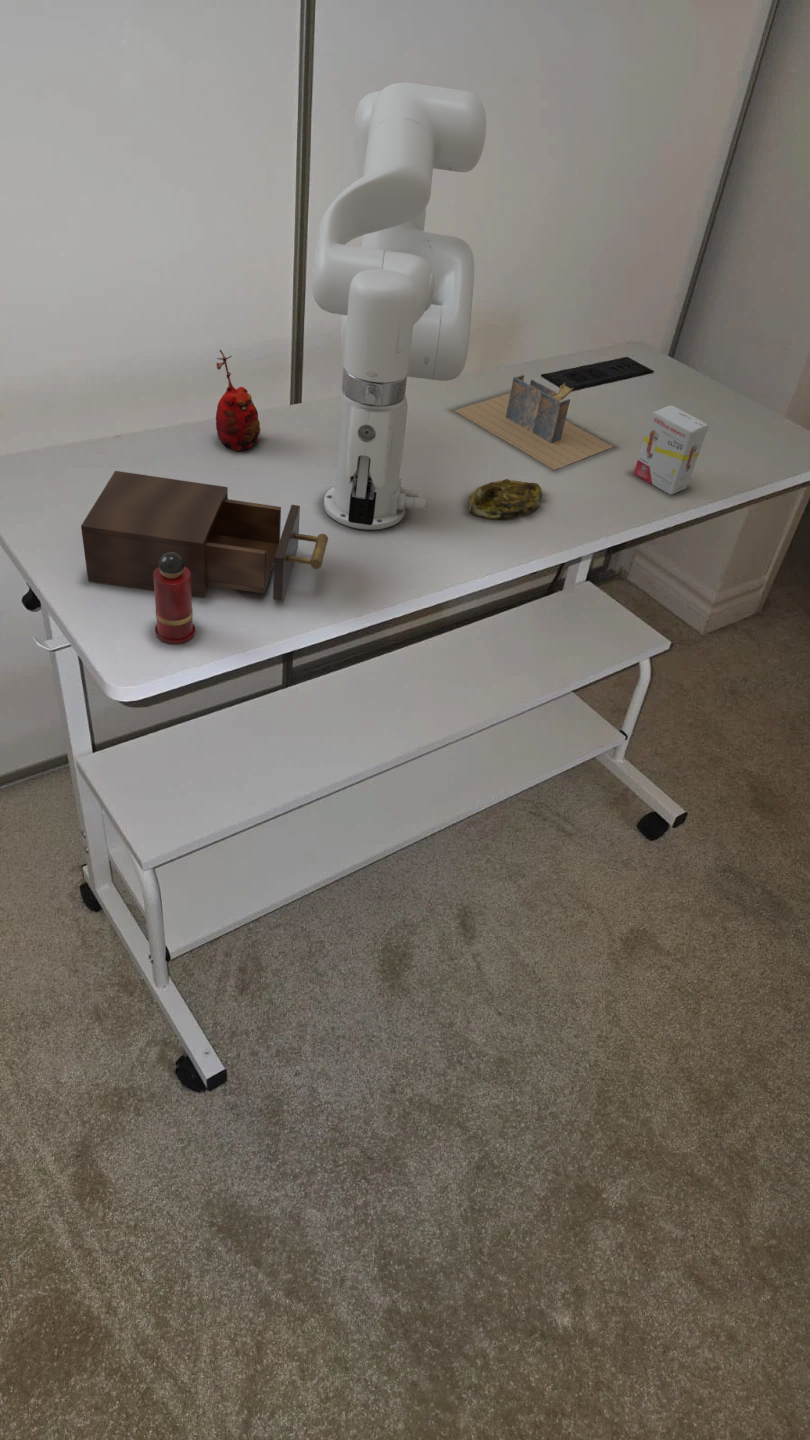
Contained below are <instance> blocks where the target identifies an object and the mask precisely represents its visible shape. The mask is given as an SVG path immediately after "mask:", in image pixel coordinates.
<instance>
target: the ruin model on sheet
mask: <svg viewBox="0 0 810 1440" xmlns="http://www.w3.org/2000/svg"><path fill="white" fill-rule="evenodd" d="M524 379H525V374H520V375H516V376H513V379H512V383H511V390H510V392H508V393H505V394H502V395H499V396H496V397H492V398H489V399H486V400H483V401H480V402H476V403H473V404H471V405H467V406H464V407H460V408H457V409H454V410H453V411H454V412H456V413H457V414H459V415H461V416H462V417H463V418H466V419H467V420H469V421H470V422H472V423H474V424H475V425H478V426H479V427H481V428H483V429H484V430H486V431H488V432H489V433H491V434H493V435H494V436H496V437H498V438H500V439H501V440H503V441H505V442H506V443H508V444H510V445H511V446H513V447H515V448H516V449H518V450H520V451H522V452H523V453H525V454H526V455H529V456H530V457H532V458H533V459H535V460H537V461H538V462H540V463H542V464H543V465H545V466H547V467H549V468H550V469H552V470H554V471H555V470H558V469H561V468H563V467H566V466H568V465H571V464H574V463H576V462H578V461H579V462H580V461H581V460H583V459H586V458H589V457H591V456H594V455H596V454H599V453H602V452H604V451H606V450H609V449H612V448H614V445H612V444H609V443H607V442H606V441H604V440H602V439H600V438H599V437H597V436H595V435H593V434H591V433H589V432H588V431H586V430H584V429H582V428H580V427H578V426H577V425H575V424H573V423H572V422H570V421H567V419H566V418H567V416H568V415H567V414H568V410H569V406H570V403H571V399H570V398H567V396H569V395H570V394H571V393H572V390H574V387H571V388H570V387H569V386H567V385H566V382H564V383H563V384H562V385H560V386H559V389H558V392H557V391H555V390H553V389H551V388H550V387H548V386H546V385H544V384H542V383H540V382H538V381H536V380H535V379H533V378H531V379H530V383H529V384H528V383H527V382H525V381H524ZM565 398H567V399H565Z"/></svg>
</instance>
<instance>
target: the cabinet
mask: <svg viewBox="0 0 810 1440" xmlns="http://www.w3.org/2000/svg"><path fill="white" fill-rule="evenodd" d="M228 493H229V489H228V486H224V485H216V484H209V483H202V482H195V481H188V480H181V479H174V478H169V477H168V478H167V477H161V476H154V475H147V474H140V473H135V472H134V473H133V472H127V471H119V470H115V471H114V472H113V473H112V475H111V477H110V479H109V480H108V481H107V483H106V485H105V487H103V490H102V491H101V493H100V494H99V496H98V497H97V499H96V501H95V502H94V504H93V506H92V507H91V509H90V511H89V512H88V514H87V515H86V517H85V518H84V520H83V522H82V523H81V525H80V529H81V537H82V545H83V552H84V559H85V565H86V566H85V568H86V574H87V581H88V582H89V583H91V582H92V583H97V584H104V585H111V586H119V587H126V588H132V589H133V588H134V589H140V590H145V591H146V590H147V591H152V592H154V579H153V573H154V570H155V569H156V568H158V567H159V566H158V562H159V559H160V557H161V556H162V555H163V554H165V553H167V552H174V553H177V554H179V555H180V556H181V557H182V559H183V561H184V566H185V567H186V568H188V569H189V571H190V573H191V594H192V597H194V598H195V597H196V598H203V599H205V598H206V596H207V594H208V591H209V589H210V586H209V585H206V573H205V543H206V541H207V539H208V536H209V534H210V532H211V529H212V527H213V525H214V522H215V520H216V518H217V515H218V513H219V511H220V508H221V506H222V504H223V501H224V499H229V494H228Z"/></svg>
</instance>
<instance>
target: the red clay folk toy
mask: <svg viewBox="0 0 810 1440" xmlns="http://www.w3.org/2000/svg"><path fill="white" fill-rule="evenodd" d="M218 352H219V353H220V354H221V355H222V357H217V360H220V361H221V360H222V362H216V363H215V364H216V369H217V370H221V369H222V366H224V367H225V371H226V379H227V381H228V386H227V387H226V390H225V392H224V394H223V395H222V396H221V398H220V399H219V401H218V403H217V407H216V412H215V429H216V433H217V438H218V440H219V441H220V442H221V444H222V445H223V446H224V447H225V448H228V449H231V450H232V451H234V452H235V451H237V452H240V451H242V450H248V449H251V448H252V447H253V445H255V444H257V443H258V442H259V441H260V440H259V436H260V434H261V427H260V426H261V422H260V419H259V412H258V409H257V407H256V406H255V404H254V401H253V399H252V395H251V393H248V392H249V391H248V389H246V388H245V387H244V386H239V387H238V388H235V386H233V383H232V381H231V375H232V372H231V371H230V372H229V368H228V363H227V361H228V360H229V359H230V358H232V356H233V355H229V356H228V357H226V356H225V354H224V352H223V351H222V349H220V350H219V351H218Z"/></svg>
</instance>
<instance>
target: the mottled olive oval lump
mask: <svg viewBox="0 0 810 1440" xmlns="http://www.w3.org/2000/svg"><path fill="white" fill-rule="evenodd" d="M542 497H543V490H542V487H541V485H540V484H539V483H537V482H527V481H526V482H525V481H521V480H514V479H512V480H511V479H508V478H505V479H502V480H497V481H492V482H491V481H490V482H488V483H486V484H483V485H481V486H479V487H478V488H475V490H473V492H472V494H471V495H470V497H469V500H468V511H469V513H470V514H471V515H473V516H476V517H479V518H483V519H487V520H498V521H499V520H500V521H506V520H511V519H512V520H513V519H515V518H517V517H520V516H524V515H525V516H526V515H529V514H531V513H532V512H534V511H536V510H537V509H538V508H539V506H540V504H541V501H542Z"/></svg>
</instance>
